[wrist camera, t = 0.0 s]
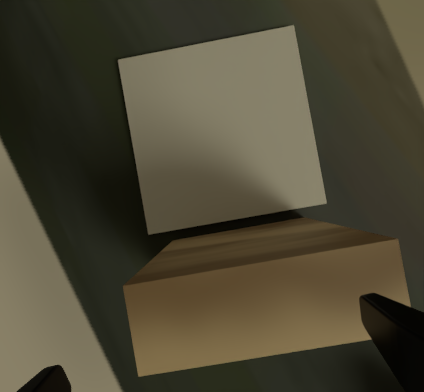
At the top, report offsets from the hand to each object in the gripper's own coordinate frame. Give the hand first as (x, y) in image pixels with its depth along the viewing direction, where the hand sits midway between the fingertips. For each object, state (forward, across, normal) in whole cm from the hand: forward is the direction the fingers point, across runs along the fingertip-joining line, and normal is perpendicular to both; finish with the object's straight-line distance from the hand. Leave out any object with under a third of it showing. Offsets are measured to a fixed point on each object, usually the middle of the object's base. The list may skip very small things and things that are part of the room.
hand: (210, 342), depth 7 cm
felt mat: (+17, -3, -6) cm, 19 cm away
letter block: (+15, -2, +5) cm, 16 cm away
